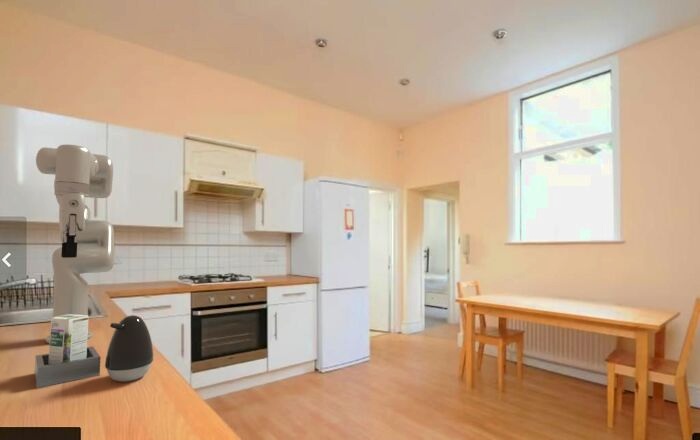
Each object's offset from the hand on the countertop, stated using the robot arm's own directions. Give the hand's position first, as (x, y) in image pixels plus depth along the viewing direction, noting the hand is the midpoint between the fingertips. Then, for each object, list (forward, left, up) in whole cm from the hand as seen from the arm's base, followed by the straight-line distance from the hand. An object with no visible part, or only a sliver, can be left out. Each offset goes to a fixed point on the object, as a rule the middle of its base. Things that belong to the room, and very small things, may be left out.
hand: (69, 257), depth 99 cm
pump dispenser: (+21, +11, -29) cm, 38 cm away
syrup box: (+8, 0, -29) cm, 30 cm away
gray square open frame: (+8, 0, -29) cm, 30 cm away
